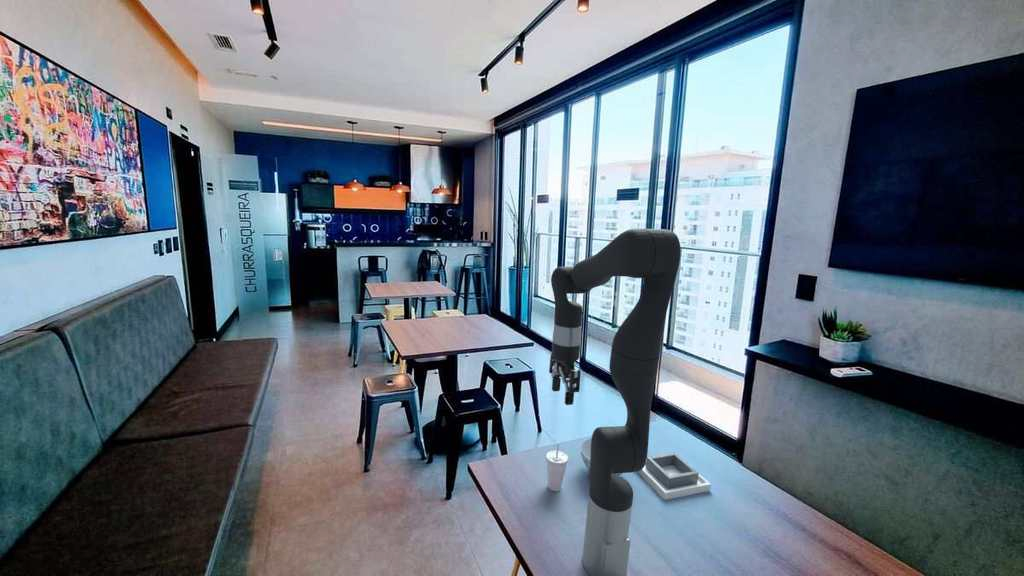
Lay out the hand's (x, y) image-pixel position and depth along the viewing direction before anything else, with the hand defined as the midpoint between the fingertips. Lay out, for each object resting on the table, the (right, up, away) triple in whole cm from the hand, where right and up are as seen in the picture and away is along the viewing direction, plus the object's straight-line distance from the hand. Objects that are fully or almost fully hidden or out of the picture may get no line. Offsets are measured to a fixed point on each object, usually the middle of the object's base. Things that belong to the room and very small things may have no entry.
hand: (562, 397), depth 111 cm
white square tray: (+34, -28, +12) cm, 46 cm away
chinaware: (+14, -27, +12) cm, 33 cm away
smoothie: (-1, -27, +5) cm, 28 cm away
